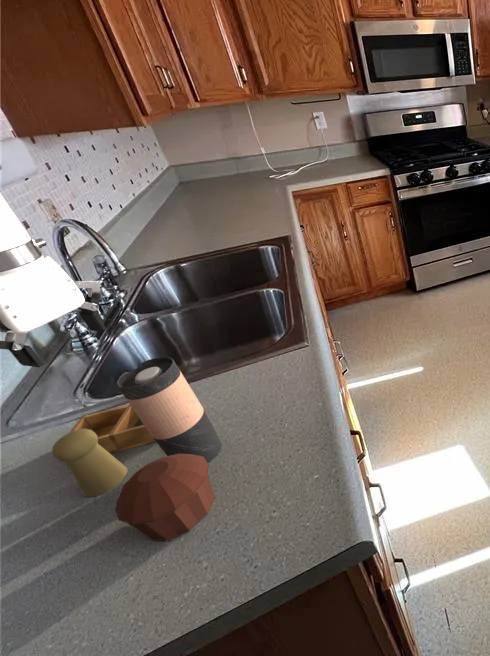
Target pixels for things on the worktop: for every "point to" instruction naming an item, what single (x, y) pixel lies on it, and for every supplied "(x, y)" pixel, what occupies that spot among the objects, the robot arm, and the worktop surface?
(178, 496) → the muffin
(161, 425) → the travel mug
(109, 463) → the cork
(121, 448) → the tray
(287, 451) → the worktop surface
